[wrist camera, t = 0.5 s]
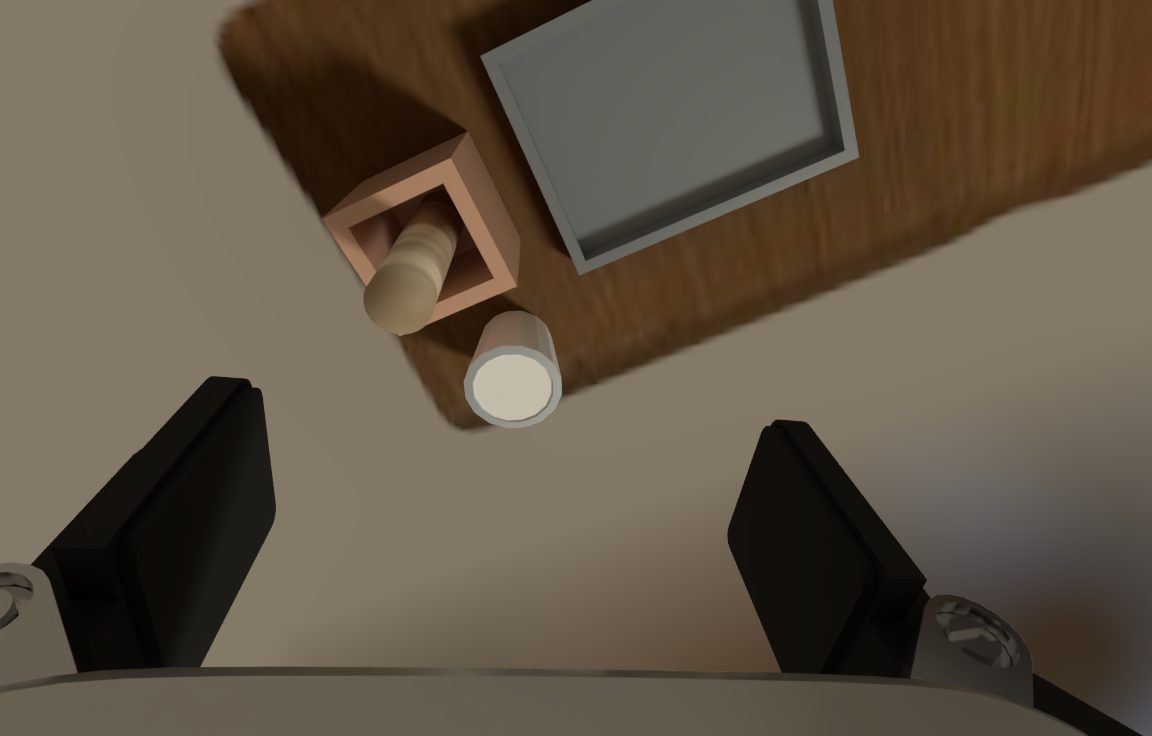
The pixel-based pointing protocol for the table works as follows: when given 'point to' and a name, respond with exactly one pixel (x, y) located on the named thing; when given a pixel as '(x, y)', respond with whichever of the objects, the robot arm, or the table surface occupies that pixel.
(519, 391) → the cream short cylinder
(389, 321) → the dowel
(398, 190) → the holder
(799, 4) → the tray
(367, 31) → the table surface
